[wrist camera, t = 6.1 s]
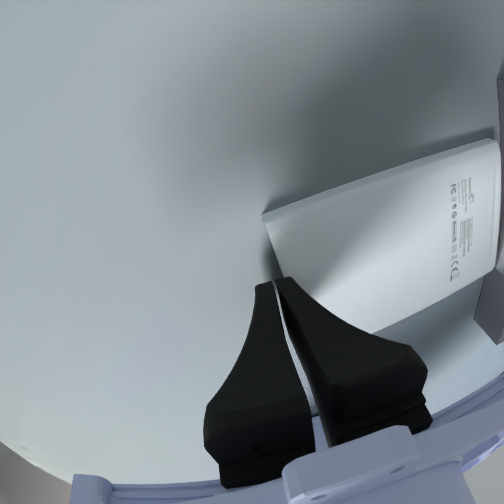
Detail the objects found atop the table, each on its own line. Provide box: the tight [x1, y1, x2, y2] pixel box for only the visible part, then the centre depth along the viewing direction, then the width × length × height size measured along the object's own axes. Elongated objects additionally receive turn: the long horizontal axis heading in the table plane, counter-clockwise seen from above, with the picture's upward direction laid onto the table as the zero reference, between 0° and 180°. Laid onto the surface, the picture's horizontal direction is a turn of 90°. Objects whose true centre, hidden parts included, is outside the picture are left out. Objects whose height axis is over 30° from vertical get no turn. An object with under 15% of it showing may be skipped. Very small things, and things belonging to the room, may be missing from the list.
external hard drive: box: [261, 138, 501, 334], centre depth 14 cm, size 2×8×12 cm
